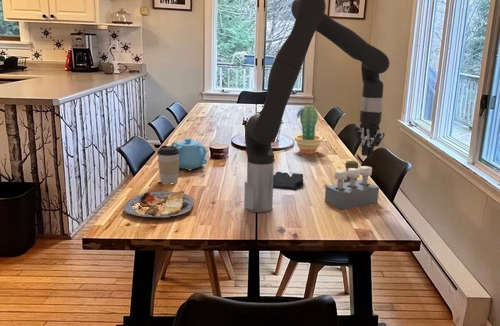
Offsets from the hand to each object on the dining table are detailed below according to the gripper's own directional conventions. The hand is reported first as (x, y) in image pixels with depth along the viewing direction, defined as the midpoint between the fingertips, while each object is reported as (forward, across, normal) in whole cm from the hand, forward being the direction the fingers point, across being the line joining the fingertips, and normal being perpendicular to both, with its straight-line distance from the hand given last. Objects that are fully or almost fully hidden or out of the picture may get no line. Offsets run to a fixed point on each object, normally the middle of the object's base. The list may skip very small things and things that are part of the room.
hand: (367, 155), depth 168 cm
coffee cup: (+17, -53, -58) cm, 80 cm away
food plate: (+18, -26, -71) cm, 78 cm away
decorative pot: (+17, -71, -42) cm, 84 cm away
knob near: (+13, 0, -12) cm, 18 cm away
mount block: (+17, 0, -6) cm, 18 cm away
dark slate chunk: (+18, -32, -18) cm, 41 cm away
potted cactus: (+17, -71, +27) cm, 78 cm away
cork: (+17, -14, +6) cm, 23 cm away
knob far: (+13, 0, 0) cm, 13 cm away
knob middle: (+13, 0, -6) cm, 14 cm away
